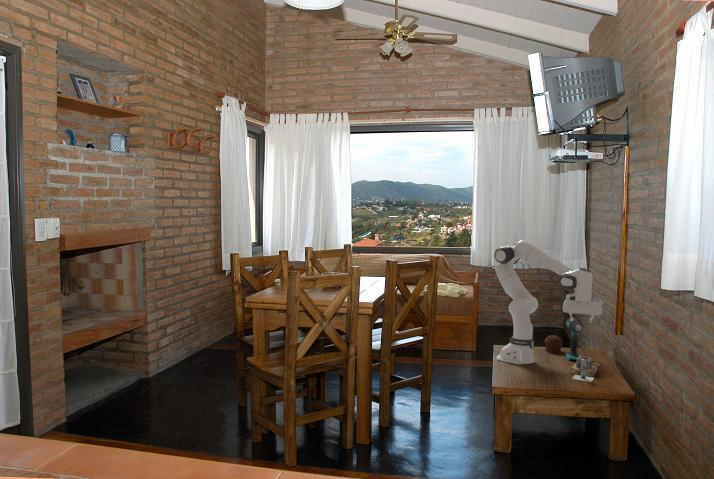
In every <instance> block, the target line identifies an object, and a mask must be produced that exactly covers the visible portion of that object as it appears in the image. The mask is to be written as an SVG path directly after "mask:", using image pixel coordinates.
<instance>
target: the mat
mask: <svg viewBox="0 0 714 479" xmlns="http://www.w3.org/2000/svg"><path fill="white" fill-rule="evenodd" d="M571 380H576V381H582V382H587V383H592V382H593V380H595V377H594V376H593V377H592V376H586V379H582V378H581V375H579V374H573V376H572V378H571Z"/></svg>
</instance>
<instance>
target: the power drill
mask: <svg viewBox="0 0 714 479" xmlns="http://www.w3.org/2000/svg"><path fill="white" fill-rule="evenodd" d="M573 318H574V321H571V317H569V318H567V319H566V322H565V324H566V327H567V329H568V330H569V331H570V341H569V344H570V345H569V347H570V349H569V350H570V351H569V352H566V353H565V354H564V355H565V356H564V357H565V358H566V359H567V361H570V360H576V359H577V358H578V357H579V356H582V355H581V353H578V345H579V344H578V333H581V332H582V331H583V329H584V326H583V324H582V322H581V321H580V320H579V319H577V318H575V317H573Z"/></svg>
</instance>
